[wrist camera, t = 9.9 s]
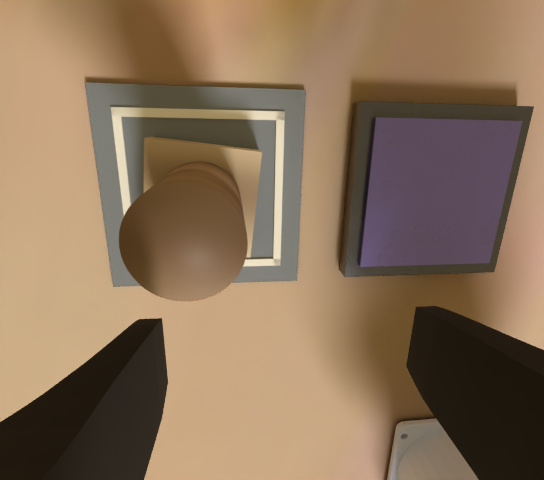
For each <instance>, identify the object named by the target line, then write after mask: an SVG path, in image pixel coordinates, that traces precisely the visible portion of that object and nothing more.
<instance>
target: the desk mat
mask: <svg viewBox="0 0 544 480" xmlns="http://www.w3.org/2000/svg"><path fill="white" fill-rule="evenodd" d="M85 87H86V94H87V101H88V108H89V115H90V123H91V130H92V137H93V144H94V152H95V159H96V166H97V173H98V180H99V188H100V195H101V202H102V209H103V216H104V224H105V231H106V238H107V245H108V253H109V260H110V267H111V274H112V281H113V287H120V286H141V285H140V284H139V283H138V282H137V281H136V280H135V279H134V278H133V277H132V276H131V274H130V273H129V271H128V270H127V268H126V266H125V264H124V262H123V260H122V257H121V253H120V249H119V230H120V226H121V222H122V220H123V217H124V215H125V213H126V211H127V210H128V208H129V207H130V206H131V204H132V203H133V202H134V201H135V200H136V199H137V198H138V197H139V196H141V195H142V194H143V193H144V138H146V137H162V138H170V139H178V140H186V141H195V142H203V143H211V144H219V145H227V146H236V147H244V148H252V149H259V150H260V151H262V159H261V167H260V176H259V185H258V194H257V203H256V212H255V221H254V230H253V239H252V248H251V257H250V258H249V257H246V259H245V262H244V265H243V267H242V269H241V271H240V273H239V274H238V276H237V277H236V279H235V280H234V281H233V282H232V283H239V282H269V281H297V271H298V249H299V227H300V205H301V183H302V161H303V139H304V117H305V95H306V90H296V89H266V88H236V87H206V86H176V85H147V84H117V83H87V82H85Z"/></svg>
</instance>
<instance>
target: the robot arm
mask: <svg viewBox="0 0 544 480" xmlns="http://www.w3.org/2000/svg"><path fill="white" fill-rule="evenodd" d="M407 368H408V370H409V373H410V375H411V377H412V379H413V381H414V383H415V385H416V387H417V388H418V390H419V392H420V394H421V396H422V398H423V399H424V401H425V402H426V404H427V406H428V407H429V409H430V410H431V411H432V413H433V414H434V416H435V417H436V419H425V420H413V421H403V422H400V423H398V424H397V426H396V430H395V436H394V442H393V448H392V454H391V460H390V466H389V472H388V477H387V480H544V350H542V349H540V348H537V347H535V346H532V345H530V344H527V343H525V342H523V341H520V340H518V339H515V338H513V337H511V336H508V335H506V334H504V333H501V332H499V331H497V330H495V329H492V328H490V327H488V326H485V325H483V324H481V323H478V322H476V321H474V320H471V319H469V318H467V317H464V316H462V315H459V314H457V313H454V312H452V311H449V310H446V309H443V308H440V307H437V306H429V307H416V310H415V316H414V323H413V329H412V335H411V341H410V347H409V354H408V360H407ZM167 384H168V378H167V367H166V356H165V346H164V335H163V325H162V318H159V319H138V320H137V321H136V322H134V323H133V324H132V325H131V326H129V327H128V328H127V329H126V330H124V331H123V332H122V333H121V334H120V335H118V336H117V337H116V338H115V339H114V340H113V341H111V342H110V343H109V344H108V345H106V346H105V347H104V348H103V349H102V350H100V351H99V352H98V353H97V354H95V355H94V356H93V357H92V358H91V359H89V360H88V361H87V362H86V363H84V364H83V365H82V366H80V367H79V368H78V369H76V370H75V371H74V372H72V373H71V374H70V375H68V376H67V377H66V378H64V379H63V380H62V381H60V382H59V383H58V384H56V385H55V386H54V387H52V388H51V389H50V390H48V391H47V392H45V393H44V394H43V395H41V396H40V397H38V398H37V399H35V400H34V401H32V402H31V403H29V404H28V405H26V406H25V407H23V408H22V409H20V410H19V411H17V412H16V413H14V414H12V415H11V416H9V417H8V418H6V419H5V420H3V421H1V422H0V480H144V477H145V474H146V471H147V467H148V464H149V460H150V457H151V454H152V450H153V447H154V443H155V440H156V437H157V433H158V430H159V426H160V423H161V419H162V414H163V408H164V403H165V397H166V390H167Z"/></svg>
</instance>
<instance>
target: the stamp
mask: <svg viewBox="0 0 544 480" xmlns="http://www.w3.org/2000/svg"><path fill="white" fill-rule="evenodd" d="M261 159H262V151H260V150H259V149H252V148H244V147H236V146H227V145H219V144H211V143H203V142H195V141H186V140H178V139H170V138H162V137H146V138H144V193H143V194H142V195H141V196H139V197H138V198H137V199H136V200H135V201H134V202H133V203H132V204H131V206H130V207H129V208H128V210H127V211H126V213H125V215H124V217H123V220H122V222H121V226H120V230H119V249H120V253H121V257H122V260H123V262H124V264H125V266H126V268H127V270H128V271H129V273H130V274H131V276H132V277H133V278H134V279H135V280H136V281H137V282H138V283H139V284H140V285H141V286H142V287H144V288H145V289H147V290H148V291H150V292H151V293H153V294H155V295H157V296H160V297H163V298H165V299H169V300H174V301H197V300H202V299H206V298H208V297H211V296H214V295H216V294H217V293H219V292H221V291H222V290H224V289H225V288H227V287H228V286H229V285H230V284H231V283H232V282H233V281H234V280H235V279H236V277H237V276H238V274H239V273H240V271H241V269H242V267H243V265H244V262H245V259H246V257H249V258H250V257H251V248H252V239H253V230H254V221H255V212H256V203H257V194H258V185H259V176H260V167H261Z"/></svg>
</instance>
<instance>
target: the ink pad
mask: <svg viewBox="0 0 544 480" xmlns="http://www.w3.org/2000/svg"><path fill="white" fill-rule="evenodd" d="M533 108H534V107H531V106H498V105H465V104H432V103H398V102H365V101H360V102H355V103H354V105H353V117H352V128H351V140H350V151H349V163H348V175H347V186H346V198H345V209H344V221H343V232H342V244H341V255H340V267H339V270H340V271H341V273H342V274H343V275H344V277H358V276H388V275H419V274H450V273H480V272H494V271H495V266H496V262H497V258H498V254H499V250H500V246H501V241H502V237H503V233H504V229H505V225H506V221H507V216H508V212H509V208H510V204H511V200H512V196H513V191H514V187H515V183H516V179H517V175H518V171H519V166H520V162H521V158H522V154H523V150H524V146H525V141H526V137H527V133H528V129H529V125H530V121H531V116H532V112H533Z"/></svg>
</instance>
